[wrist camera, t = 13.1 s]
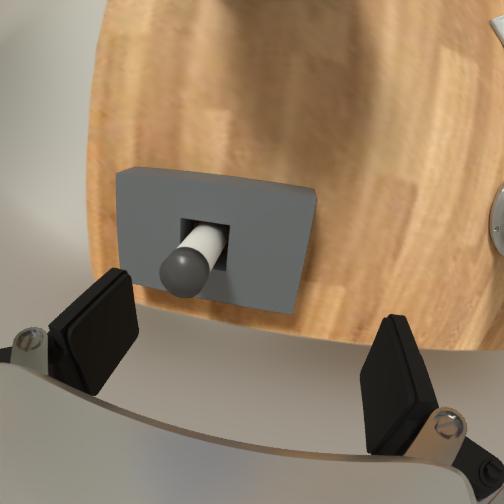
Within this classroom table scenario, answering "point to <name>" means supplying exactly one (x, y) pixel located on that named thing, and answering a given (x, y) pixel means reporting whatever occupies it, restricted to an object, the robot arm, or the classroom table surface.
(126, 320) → the robot arm
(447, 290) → the classroom table surface
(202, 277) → the peg
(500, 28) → the external hard drive
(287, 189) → the socket block
